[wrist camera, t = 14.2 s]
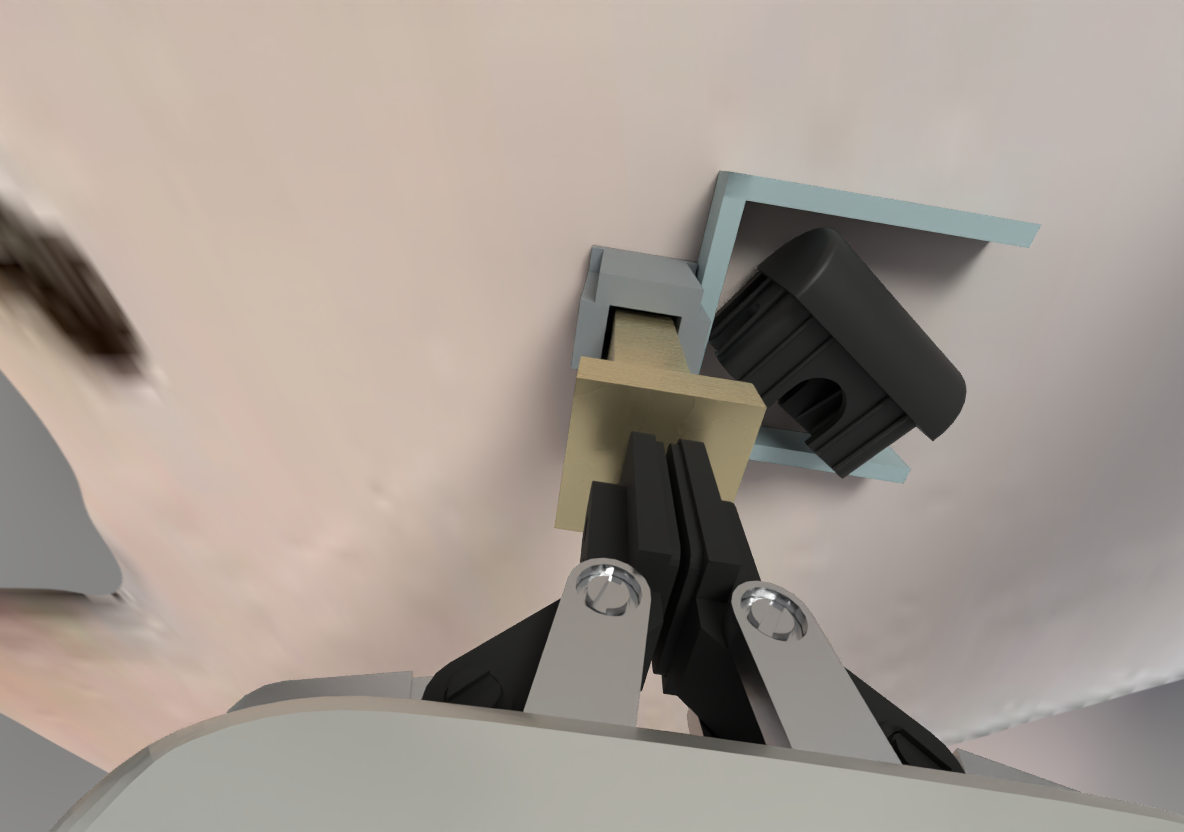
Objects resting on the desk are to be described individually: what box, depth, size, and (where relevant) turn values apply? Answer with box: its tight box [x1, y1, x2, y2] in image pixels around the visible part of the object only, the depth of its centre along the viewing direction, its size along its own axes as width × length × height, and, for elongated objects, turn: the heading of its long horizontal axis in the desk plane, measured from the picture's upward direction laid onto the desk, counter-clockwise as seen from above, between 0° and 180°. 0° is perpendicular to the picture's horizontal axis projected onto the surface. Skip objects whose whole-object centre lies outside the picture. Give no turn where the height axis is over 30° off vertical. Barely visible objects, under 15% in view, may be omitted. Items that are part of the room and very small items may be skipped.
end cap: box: [708, 228, 966, 479], centre depth 24 cm, size 10×7×7 cm
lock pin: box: [554, 308, 767, 532], centre depth 17 cm, size 4×4×10 cm
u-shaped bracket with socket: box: [571, 171, 1041, 483], centre depth 24 cm, size 14×20×7 cm
